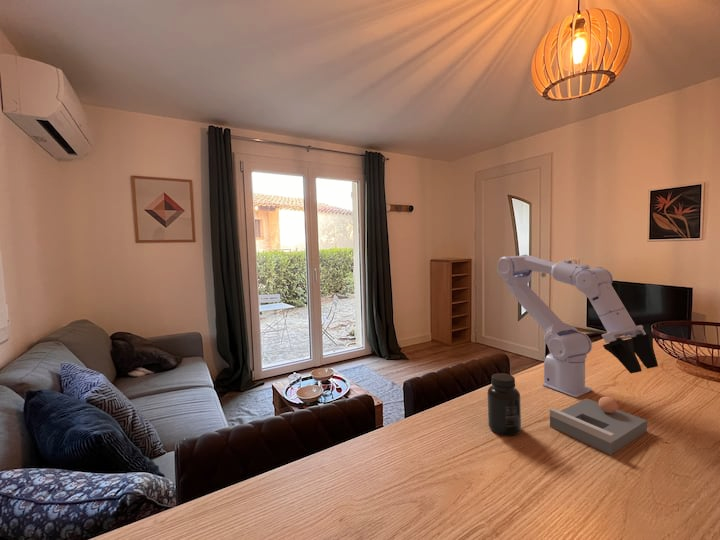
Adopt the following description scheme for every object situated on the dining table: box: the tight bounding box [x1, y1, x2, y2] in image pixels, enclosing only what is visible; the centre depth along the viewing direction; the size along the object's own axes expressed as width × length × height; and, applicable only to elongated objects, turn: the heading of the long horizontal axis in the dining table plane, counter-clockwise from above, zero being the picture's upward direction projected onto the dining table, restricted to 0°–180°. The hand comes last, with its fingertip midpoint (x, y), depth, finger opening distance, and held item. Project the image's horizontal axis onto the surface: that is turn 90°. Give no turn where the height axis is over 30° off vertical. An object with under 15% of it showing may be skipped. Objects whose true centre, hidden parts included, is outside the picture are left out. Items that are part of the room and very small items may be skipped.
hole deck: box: [549, 398, 648, 456], centre depth 72 cm, size 12×15×4 cm
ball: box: [598, 396, 619, 413], centre depth 74 cm, size 4×4×4 cm
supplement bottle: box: [487, 372, 522, 437], centre depth 74 cm, size 7×7×12 cm
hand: (644, 369), depth 74 cm, fingers open, 7 cm apart
